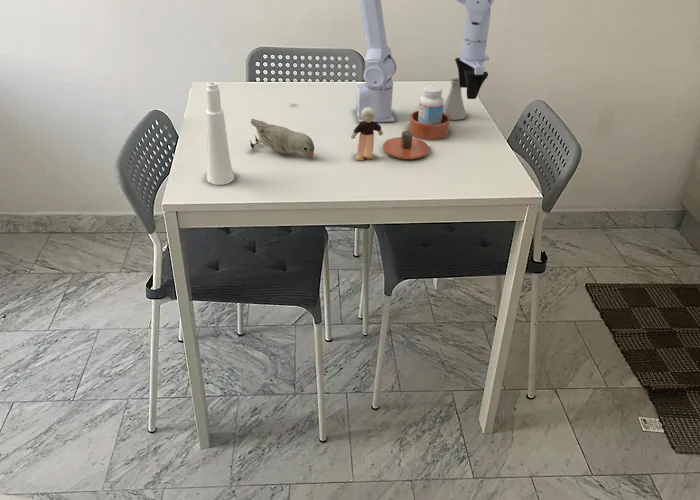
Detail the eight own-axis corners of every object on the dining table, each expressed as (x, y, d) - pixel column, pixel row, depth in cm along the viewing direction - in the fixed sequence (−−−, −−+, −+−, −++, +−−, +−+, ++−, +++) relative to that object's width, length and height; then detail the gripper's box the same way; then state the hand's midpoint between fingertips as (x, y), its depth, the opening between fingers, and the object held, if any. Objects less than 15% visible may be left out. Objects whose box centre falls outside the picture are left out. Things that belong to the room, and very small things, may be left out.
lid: (386, 161, 158) (387, 143, 155) (379, 141, 167) (380, 123, 164) (432, 160, 159) (434, 142, 156) (423, 140, 168) (425, 123, 165)
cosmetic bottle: (237, 182, 147) (229, 87, 135) (209, 186, 145) (199, 90, 133) (231, 170, 152) (223, 77, 139) (204, 174, 150) (194, 79, 138)
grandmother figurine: (356, 163, 157) (358, 113, 149) (348, 156, 159) (350, 106, 152) (384, 157, 160) (387, 107, 152) (376, 151, 162) (379, 101, 155)
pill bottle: (442, 127, 174) (447, 86, 168) (437, 136, 169) (442, 94, 163) (420, 123, 176) (424, 82, 169) (414, 132, 171) (418, 90, 165)
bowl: (412, 140, 168) (414, 125, 166) (405, 123, 176) (407, 109, 174) (452, 139, 169) (454, 125, 167) (443, 123, 177) (445, 109, 175)
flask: (467, 121, 179) (472, 85, 173) (440, 120, 179) (444, 84, 173) (464, 110, 185) (468, 75, 179) (438, 109, 185) (441, 74, 179)
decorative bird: (309, 163, 156) (309, 134, 152) (247, 152, 160) (245, 123, 155) (317, 154, 160) (317, 125, 156) (256, 143, 164) (255, 114, 160)
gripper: (499, 48, 155) (491, 103, 162) (483, 29, 166) (475, 82, 174) (470, 48, 154) (462, 104, 162) (455, 29, 166) (449, 82, 173)
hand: (467, 92), depth 168 cm, fingers open, 7 cm apart
